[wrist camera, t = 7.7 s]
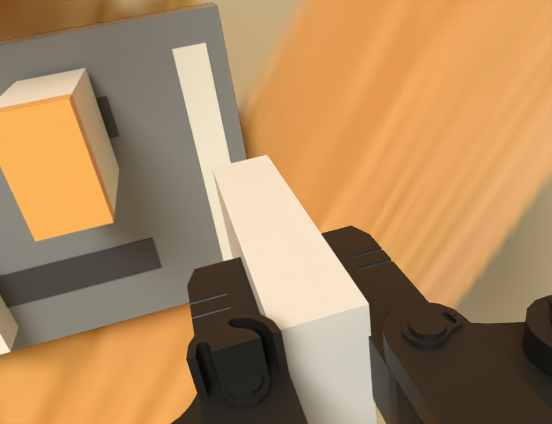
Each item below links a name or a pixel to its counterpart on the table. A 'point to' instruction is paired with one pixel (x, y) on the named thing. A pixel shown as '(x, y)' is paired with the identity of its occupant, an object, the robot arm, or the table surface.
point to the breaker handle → (57, 154)
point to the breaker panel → (127, 175)
